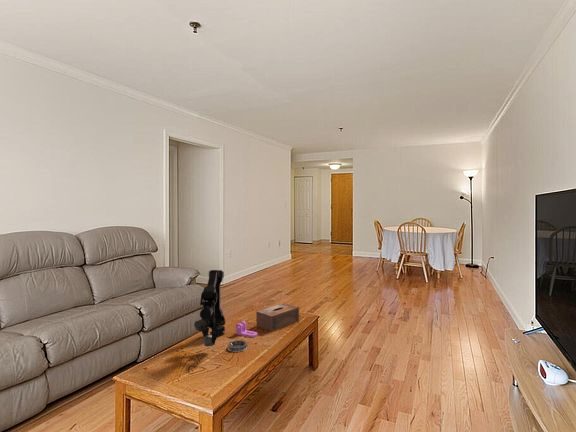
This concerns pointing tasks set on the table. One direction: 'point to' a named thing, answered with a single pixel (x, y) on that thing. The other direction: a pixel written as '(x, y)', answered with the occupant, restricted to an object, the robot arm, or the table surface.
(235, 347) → the shallow metal dish
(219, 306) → the robot arm
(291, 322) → the tissue box cover
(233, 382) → the table surface
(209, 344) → the cap
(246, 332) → the bracket
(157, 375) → the table surface
